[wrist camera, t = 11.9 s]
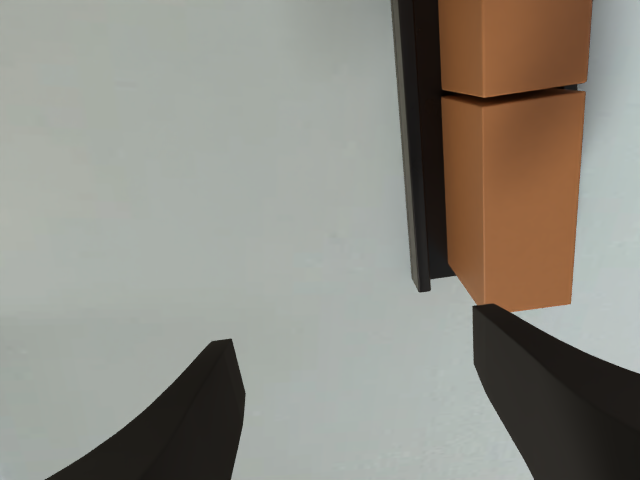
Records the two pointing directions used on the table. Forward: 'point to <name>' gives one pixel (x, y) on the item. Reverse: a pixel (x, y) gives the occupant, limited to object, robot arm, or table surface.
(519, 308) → the orange rectangular block
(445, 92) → the rail
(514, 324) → the robot arm
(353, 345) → the table surface
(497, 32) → the brown wooden block
